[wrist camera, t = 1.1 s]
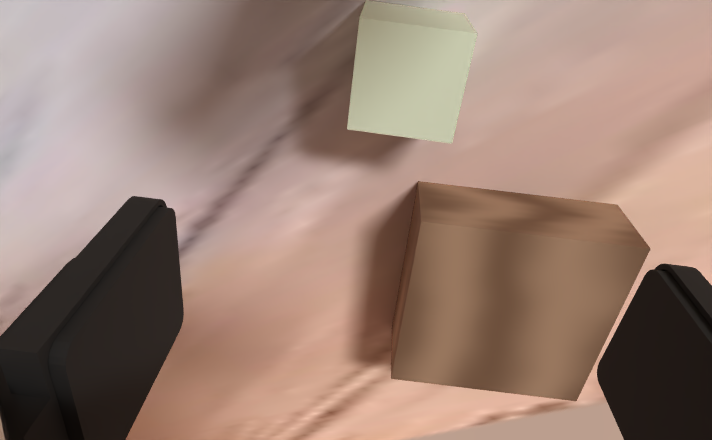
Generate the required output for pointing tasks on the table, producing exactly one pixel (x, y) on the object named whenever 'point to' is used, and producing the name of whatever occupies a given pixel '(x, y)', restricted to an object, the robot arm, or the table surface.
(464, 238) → the walnut block
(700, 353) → the robot arm
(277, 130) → the table surface
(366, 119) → the cream cube
